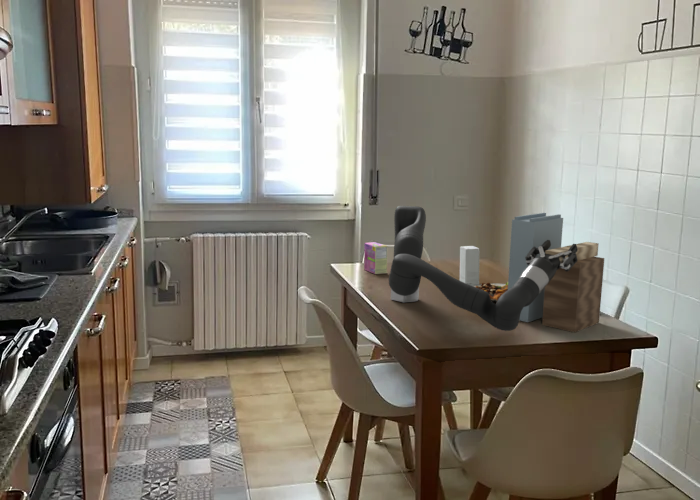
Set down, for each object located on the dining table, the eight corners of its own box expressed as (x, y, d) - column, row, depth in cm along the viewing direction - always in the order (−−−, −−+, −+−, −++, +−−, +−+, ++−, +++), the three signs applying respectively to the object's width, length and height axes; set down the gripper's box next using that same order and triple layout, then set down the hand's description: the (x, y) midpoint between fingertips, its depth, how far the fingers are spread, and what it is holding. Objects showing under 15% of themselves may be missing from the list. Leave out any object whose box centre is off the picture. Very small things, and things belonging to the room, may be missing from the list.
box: (363, 269, 298) (364, 242, 296) (375, 269, 300) (376, 241, 298) (374, 274, 289) (375, 246, 287) (386, 273, 291) (387, 245, 289)
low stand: (574, 332, 211) (580, 264, 208) (542, 324, 219) (546, 259, 215) (598, 322, 223) (604, 258, 219) (567, 315, 230) (571, 253, 227)
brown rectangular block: (556, 265, 205) (557, 252, 204) (544, 263, 208) (545, 250, 207) (597, 255, 223) (598, 243, 222) (585, 254, 226) (586, 241, 225)
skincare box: (479, 286, 271) (481, 248, 268) (464, 286, 270) (466, 248, 267) (472, 281, 279) (474, 245, 276) (458, 281, 278) (459, 245, 276)
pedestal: (527, 322, 222) (534, 219, 216) (506, 317, 227) (512, 216, 221) (556, 312, 234) (563, 214, 228) (535, 308, 240) (541, 212, 234)
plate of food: (543, 291, 265) (543, 275, 265) (542, 308, 239) (543, 291, 238) (468, 288, 273) (469, 272, 272) (460, 304, 246) (460, 287, 246)
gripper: (556, 270, 195) (582, 237, 203) (511, 262, 204) (538, 231, 213) (561, 291, 198) (586, 257, 207) (517, 282, 208) (543, 250, 217)
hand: (562, 244), depth 210 cm, fingers open, 8 cm apart
